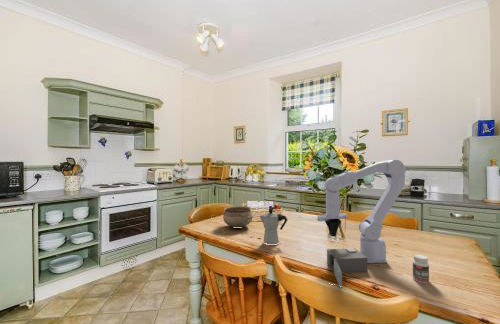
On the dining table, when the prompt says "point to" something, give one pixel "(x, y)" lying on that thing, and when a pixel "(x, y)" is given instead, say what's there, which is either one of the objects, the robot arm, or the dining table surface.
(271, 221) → the coffee maker
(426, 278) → the pill bottle
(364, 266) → the camera housing
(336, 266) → the side door
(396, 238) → the dining table surface
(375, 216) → the robot arm
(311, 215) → the dining table surface
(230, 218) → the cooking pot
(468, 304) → the dining table surface
